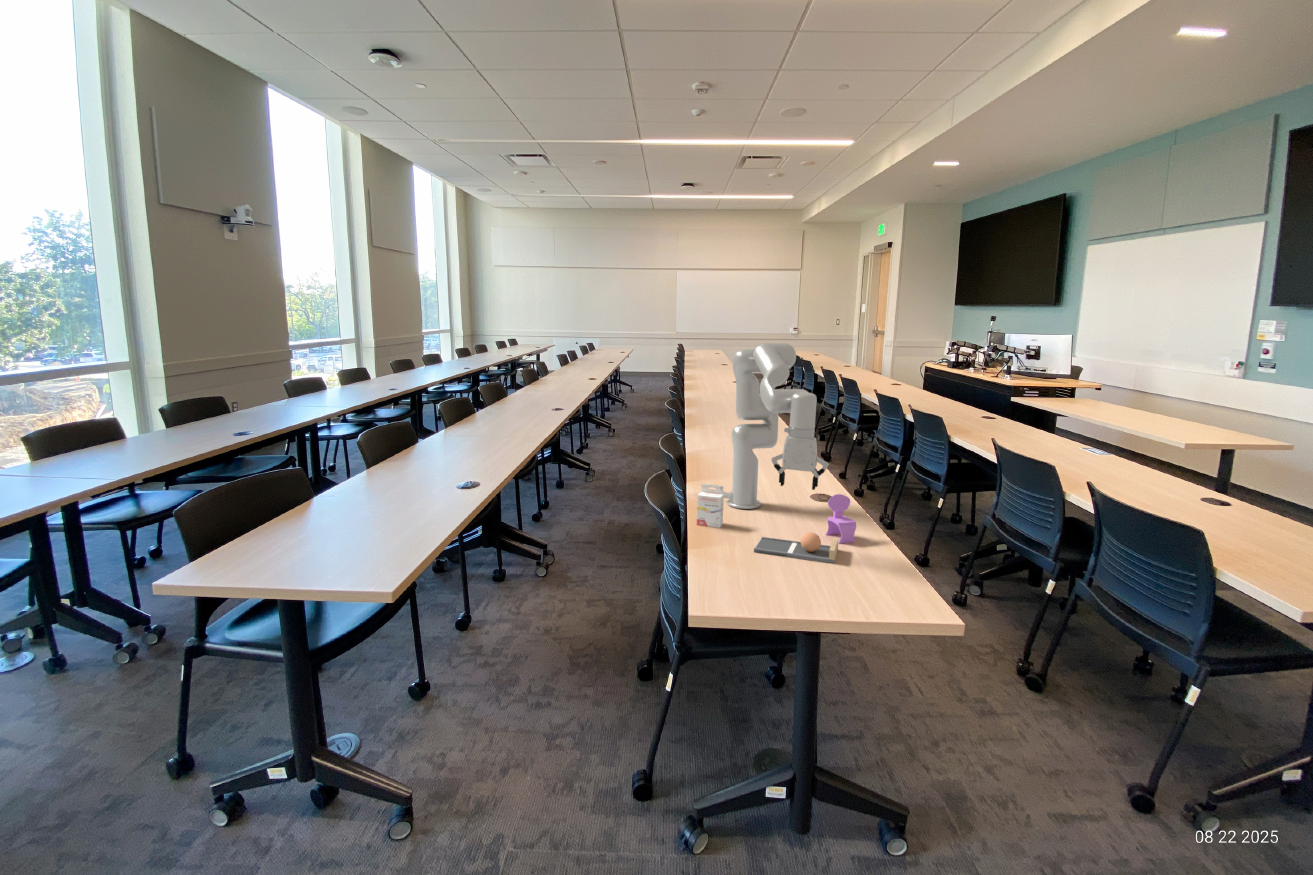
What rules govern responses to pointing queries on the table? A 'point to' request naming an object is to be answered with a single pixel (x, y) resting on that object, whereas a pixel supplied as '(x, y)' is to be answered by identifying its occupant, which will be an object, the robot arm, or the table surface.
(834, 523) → the toy chair
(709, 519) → the ink cartridge box
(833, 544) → the lane
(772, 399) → the robot arm
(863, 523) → the table surface
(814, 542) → the ball
